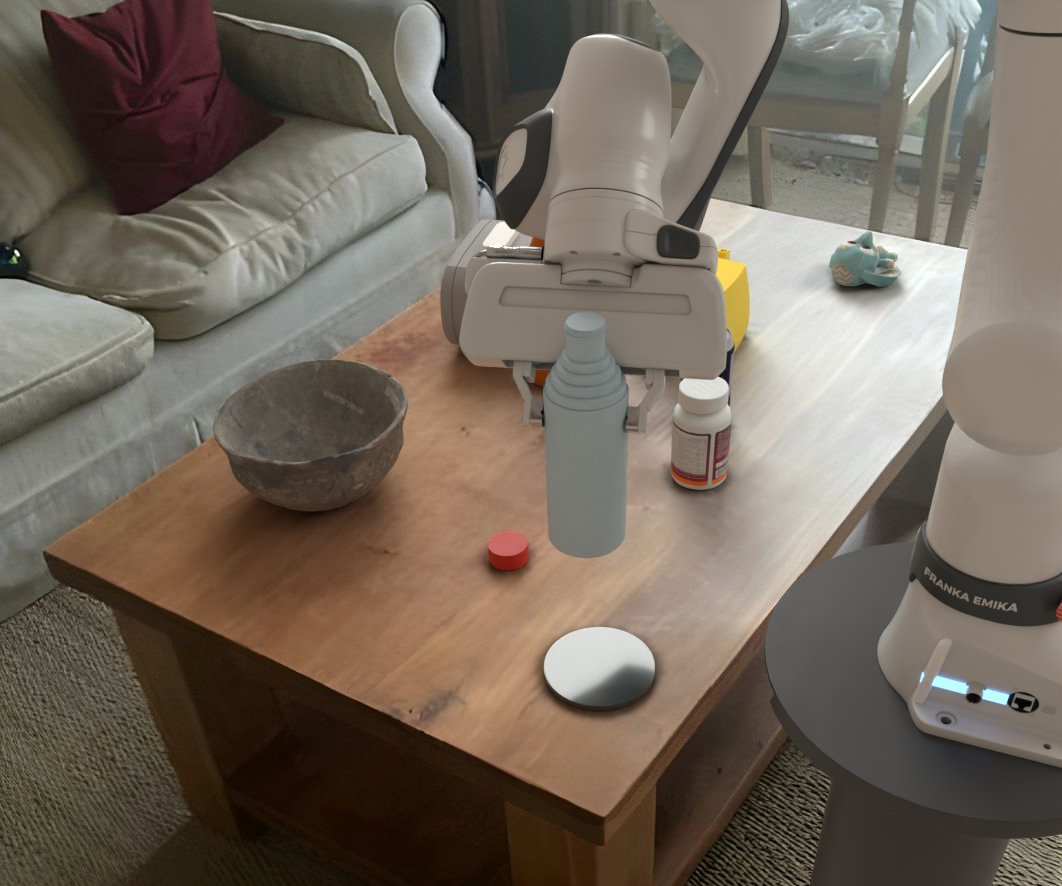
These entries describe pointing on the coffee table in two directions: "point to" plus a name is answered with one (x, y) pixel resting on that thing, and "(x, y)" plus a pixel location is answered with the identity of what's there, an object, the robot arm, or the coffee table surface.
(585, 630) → the coaster
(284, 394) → the bowl
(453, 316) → the alarm clock
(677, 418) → the pill bottle
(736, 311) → the teapot
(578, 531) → the bottle
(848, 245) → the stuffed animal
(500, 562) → the cap
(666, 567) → the coffee table surface
